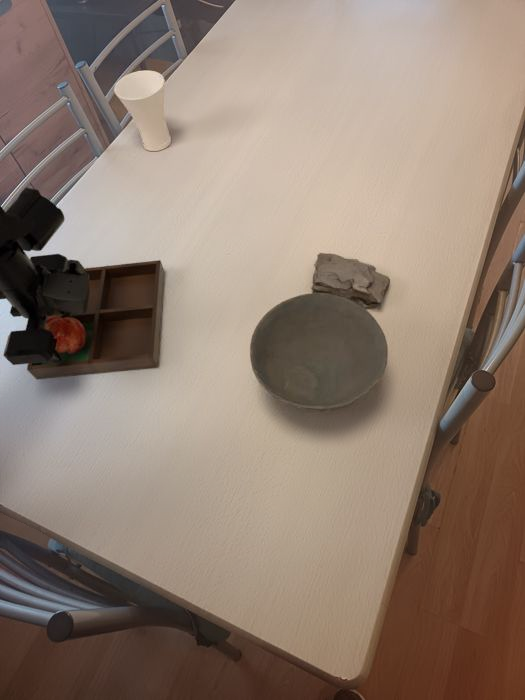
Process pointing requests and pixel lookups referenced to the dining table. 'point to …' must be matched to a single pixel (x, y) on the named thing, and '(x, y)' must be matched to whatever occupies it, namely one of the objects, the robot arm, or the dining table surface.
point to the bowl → (318, 351)
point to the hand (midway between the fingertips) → (63, 337)
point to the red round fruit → (66, 333)
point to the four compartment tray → (115, 322)
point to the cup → (146, 106)
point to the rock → (349, 279)
